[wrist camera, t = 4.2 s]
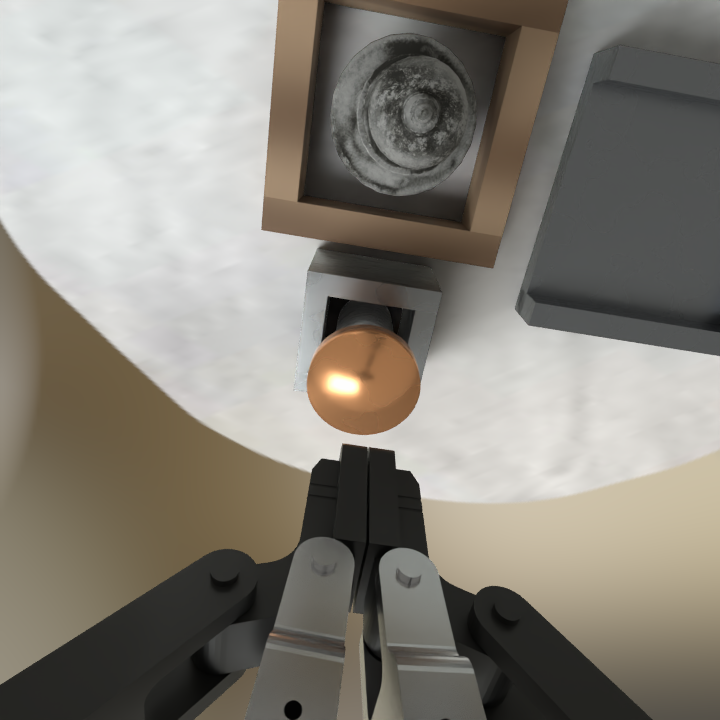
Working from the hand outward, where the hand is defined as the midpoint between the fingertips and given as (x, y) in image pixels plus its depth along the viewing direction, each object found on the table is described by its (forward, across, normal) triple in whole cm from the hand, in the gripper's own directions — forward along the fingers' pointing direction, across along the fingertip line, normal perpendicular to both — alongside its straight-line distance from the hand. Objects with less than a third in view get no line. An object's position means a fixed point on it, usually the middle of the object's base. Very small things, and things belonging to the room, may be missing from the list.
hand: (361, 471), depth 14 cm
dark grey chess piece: (+14, 0, -9) cm, 17 cm away
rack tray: (+14, -14, -7) cm, 21 cm away
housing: (+14, 0, 0) cm, 14 cm away
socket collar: (+14, 0, -9) cm, 17 cm away
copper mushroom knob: (+12, 0, 0) cm, 12 cm away
